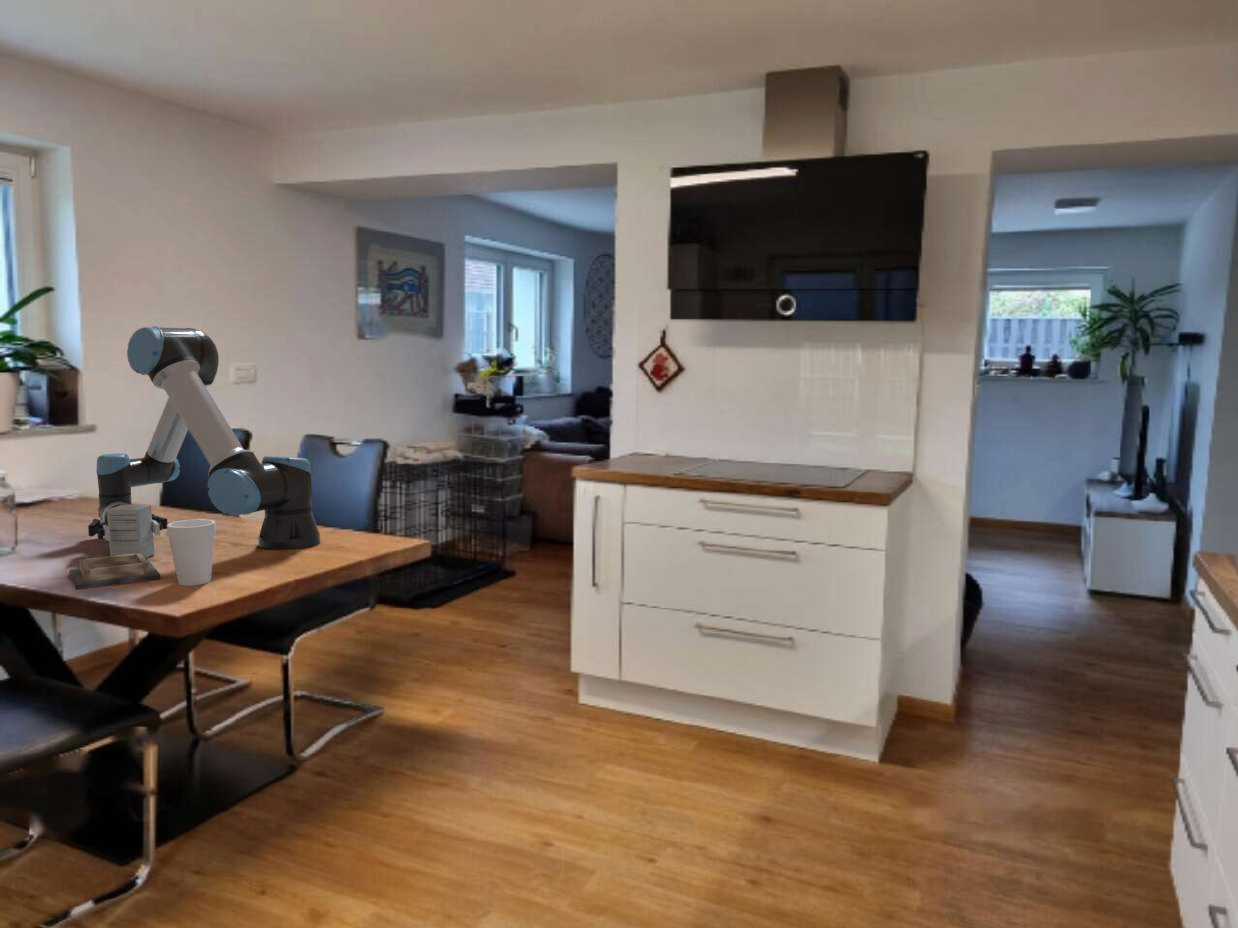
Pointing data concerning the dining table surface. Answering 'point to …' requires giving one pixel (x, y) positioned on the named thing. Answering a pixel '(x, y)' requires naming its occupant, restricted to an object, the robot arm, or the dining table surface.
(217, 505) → the robot arm
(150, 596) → the dining table surface
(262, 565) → the dining table surface
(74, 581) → the keeper cradle
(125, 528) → the supplement box
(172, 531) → the foam cup
